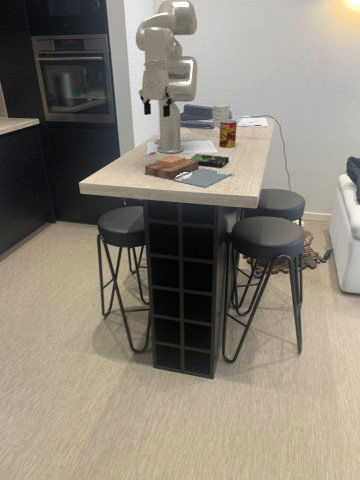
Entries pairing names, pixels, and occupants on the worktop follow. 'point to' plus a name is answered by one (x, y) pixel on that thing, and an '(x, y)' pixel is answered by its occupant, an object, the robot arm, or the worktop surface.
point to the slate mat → (203, 178)
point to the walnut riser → (171, 169)
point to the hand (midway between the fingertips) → (157, 115)
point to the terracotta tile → (171, 161)
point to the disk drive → (211, 160)
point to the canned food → (227, 133)
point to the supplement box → (220, 114)
